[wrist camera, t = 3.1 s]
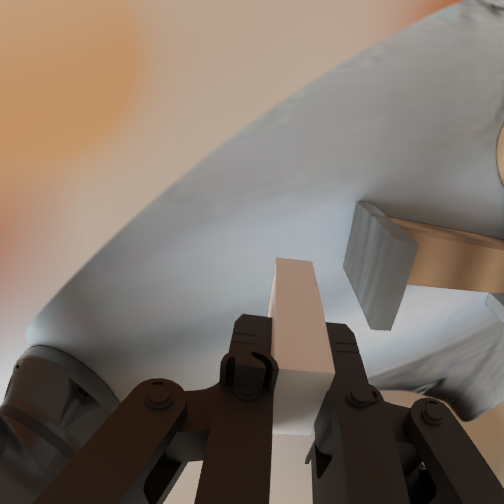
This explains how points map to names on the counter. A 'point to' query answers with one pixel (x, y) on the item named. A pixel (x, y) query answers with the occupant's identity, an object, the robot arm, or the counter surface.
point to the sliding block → (414, 261)
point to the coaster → (500, 154)
